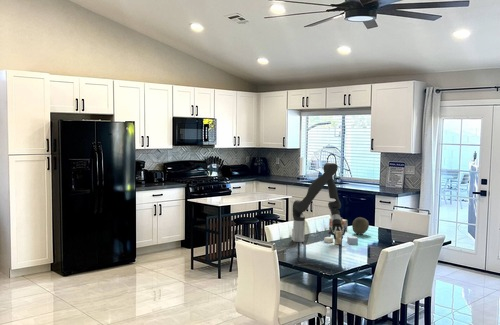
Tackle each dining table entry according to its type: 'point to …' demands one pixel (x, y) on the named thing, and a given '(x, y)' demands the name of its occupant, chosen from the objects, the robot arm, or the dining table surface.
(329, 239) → the cream block
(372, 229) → the dining table surface
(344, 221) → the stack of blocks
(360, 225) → the cantaloupe
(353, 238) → the blue base block
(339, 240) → the oak block
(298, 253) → the dining table surface
